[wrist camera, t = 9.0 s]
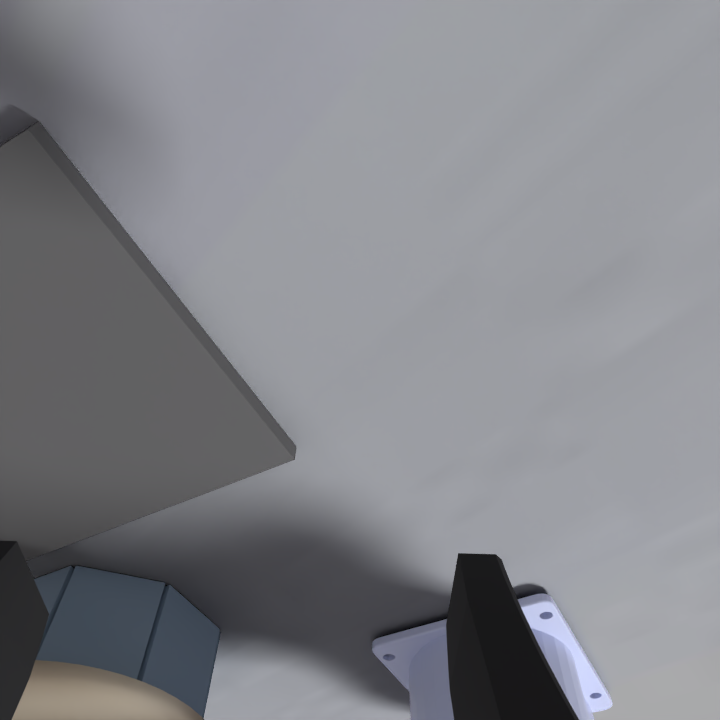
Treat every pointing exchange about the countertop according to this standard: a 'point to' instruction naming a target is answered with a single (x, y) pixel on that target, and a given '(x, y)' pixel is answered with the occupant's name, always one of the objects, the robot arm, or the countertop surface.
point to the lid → (94, 696)
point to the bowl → (129, 631)
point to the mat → (103, 369)
